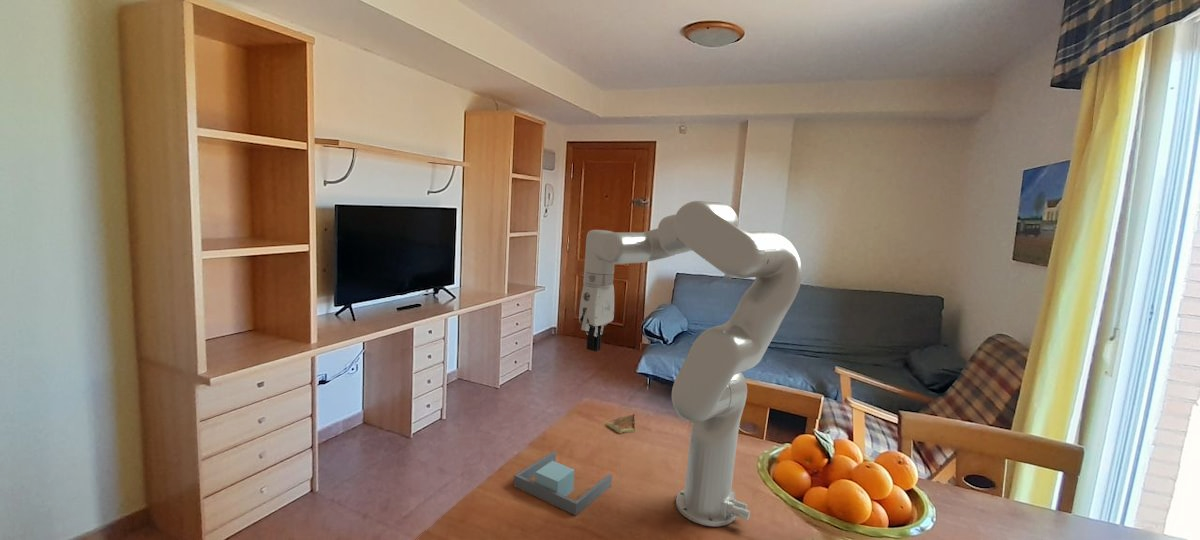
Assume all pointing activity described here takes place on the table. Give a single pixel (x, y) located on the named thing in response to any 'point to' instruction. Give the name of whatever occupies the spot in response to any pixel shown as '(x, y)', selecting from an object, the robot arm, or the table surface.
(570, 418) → the table surface
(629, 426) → the shard
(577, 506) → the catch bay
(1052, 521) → the table surface
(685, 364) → the robot arm
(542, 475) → the teal block
